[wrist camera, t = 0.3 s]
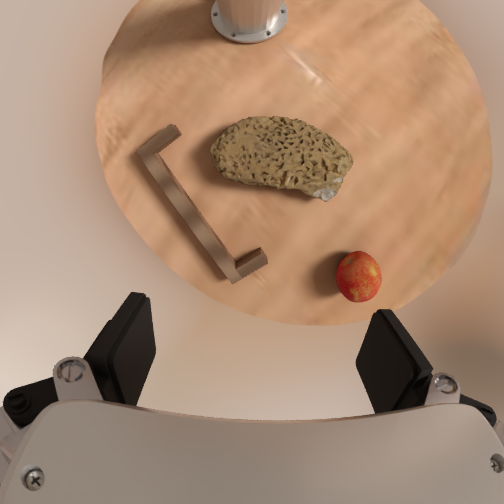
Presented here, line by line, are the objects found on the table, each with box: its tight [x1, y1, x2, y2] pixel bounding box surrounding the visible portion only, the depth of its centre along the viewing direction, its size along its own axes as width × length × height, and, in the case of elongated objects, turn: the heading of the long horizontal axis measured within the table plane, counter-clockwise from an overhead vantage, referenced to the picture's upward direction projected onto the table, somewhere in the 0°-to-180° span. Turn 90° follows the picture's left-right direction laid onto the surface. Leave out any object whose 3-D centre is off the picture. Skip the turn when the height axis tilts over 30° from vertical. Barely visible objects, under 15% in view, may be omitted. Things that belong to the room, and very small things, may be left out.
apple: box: [336, 251, 382, 302], centre depth 46 cm, size 8×8×8 cm
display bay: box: [136, 124, 268, 284], centre depth 44 cm, size 27×7×3 cm, turn 33°
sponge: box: [210, 116, 353, 202], centre depth 40 cm, size 13×8×20 cm
